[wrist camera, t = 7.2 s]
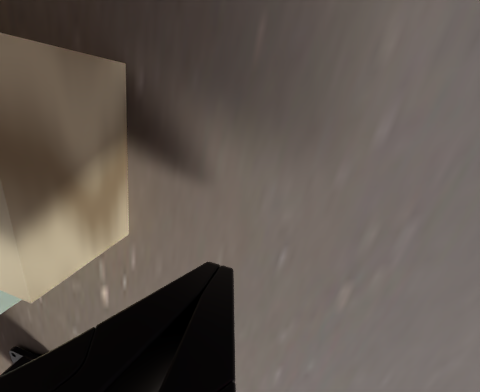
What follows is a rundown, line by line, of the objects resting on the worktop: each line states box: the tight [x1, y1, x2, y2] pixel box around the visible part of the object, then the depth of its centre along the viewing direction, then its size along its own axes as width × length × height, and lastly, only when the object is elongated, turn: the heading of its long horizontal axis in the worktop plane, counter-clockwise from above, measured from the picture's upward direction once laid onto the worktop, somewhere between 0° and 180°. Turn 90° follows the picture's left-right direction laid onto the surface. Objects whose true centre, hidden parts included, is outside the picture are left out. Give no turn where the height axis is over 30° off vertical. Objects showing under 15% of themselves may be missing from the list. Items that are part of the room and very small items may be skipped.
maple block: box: [0, 33, 129, 303], centre depth 9 cm, size 8×8×5 cm
